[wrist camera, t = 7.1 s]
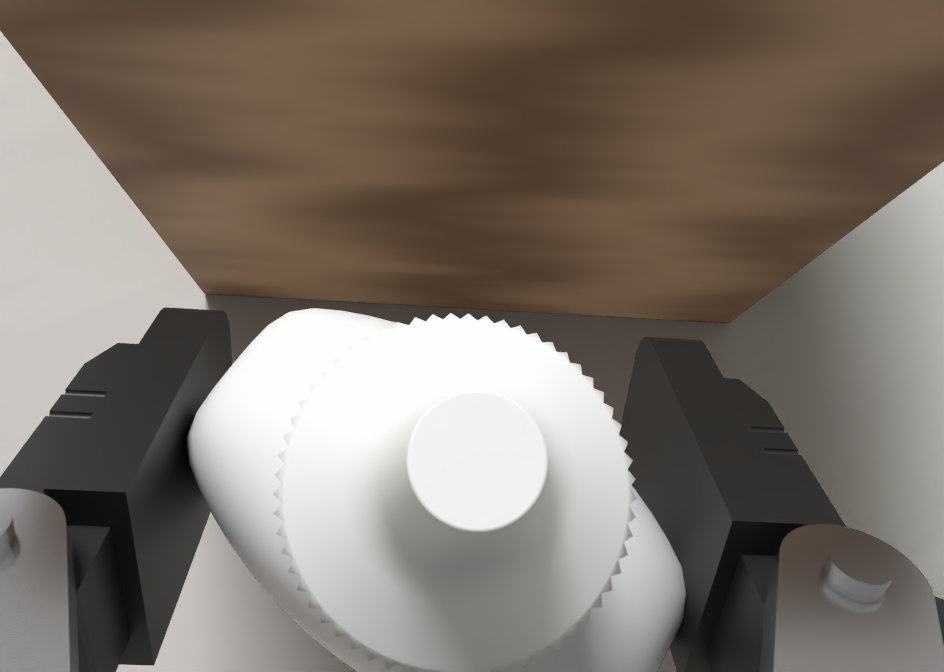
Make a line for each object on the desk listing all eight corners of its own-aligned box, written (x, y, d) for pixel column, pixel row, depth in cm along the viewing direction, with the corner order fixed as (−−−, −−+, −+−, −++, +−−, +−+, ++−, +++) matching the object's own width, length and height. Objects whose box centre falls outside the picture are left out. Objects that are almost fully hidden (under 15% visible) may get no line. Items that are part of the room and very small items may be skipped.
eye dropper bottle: (459, 362, 16) (593, -109, 5) (588, 621, 15) (1158, 800, 4) (257, 454, 16) (-148, 147, 4) (378, 736, 14) (282, 1417, 3)
